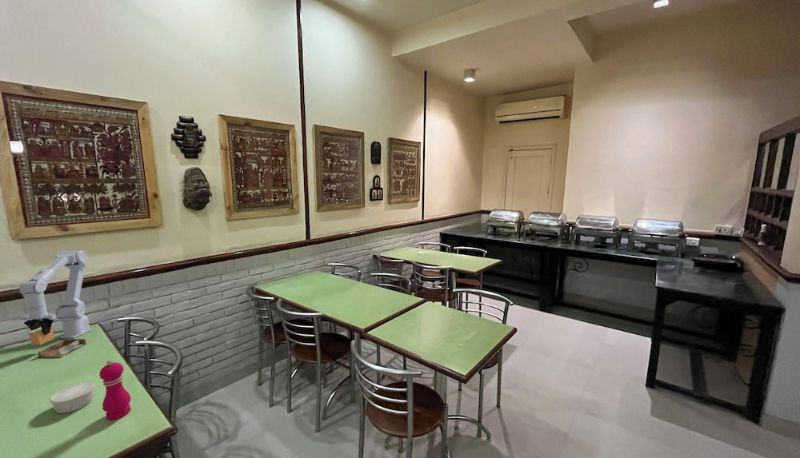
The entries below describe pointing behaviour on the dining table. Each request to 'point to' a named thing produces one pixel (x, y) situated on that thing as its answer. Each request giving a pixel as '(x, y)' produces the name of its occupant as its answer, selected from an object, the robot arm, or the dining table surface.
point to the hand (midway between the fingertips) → (42, 333)
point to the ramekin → (73, 397)
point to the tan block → (40, 336)
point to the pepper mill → (114, 391)
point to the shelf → (62, 348)
